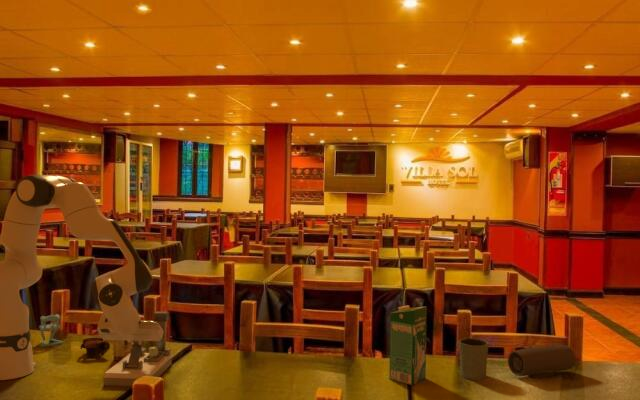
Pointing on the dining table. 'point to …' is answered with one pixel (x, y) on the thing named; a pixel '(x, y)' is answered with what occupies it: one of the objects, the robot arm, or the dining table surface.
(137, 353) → the lever orange
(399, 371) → the milk carton
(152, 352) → the push button
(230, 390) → the dining table surface
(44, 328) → the chair
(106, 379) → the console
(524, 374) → the bluetooth speaker
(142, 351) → the block
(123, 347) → the sauce bottle
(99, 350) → the pottery mug
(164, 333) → the lever black
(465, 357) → the grey cup
